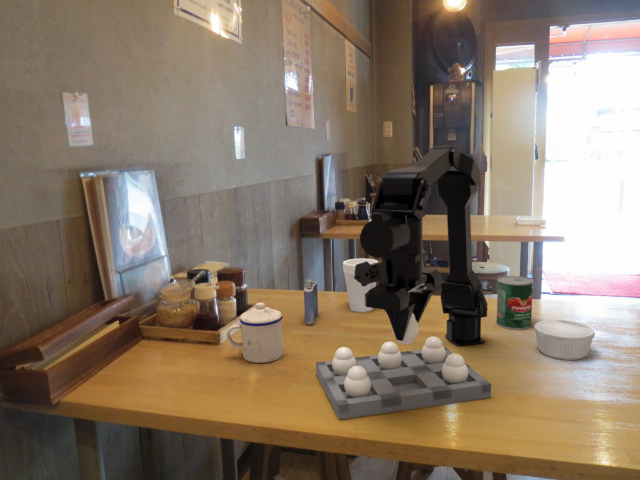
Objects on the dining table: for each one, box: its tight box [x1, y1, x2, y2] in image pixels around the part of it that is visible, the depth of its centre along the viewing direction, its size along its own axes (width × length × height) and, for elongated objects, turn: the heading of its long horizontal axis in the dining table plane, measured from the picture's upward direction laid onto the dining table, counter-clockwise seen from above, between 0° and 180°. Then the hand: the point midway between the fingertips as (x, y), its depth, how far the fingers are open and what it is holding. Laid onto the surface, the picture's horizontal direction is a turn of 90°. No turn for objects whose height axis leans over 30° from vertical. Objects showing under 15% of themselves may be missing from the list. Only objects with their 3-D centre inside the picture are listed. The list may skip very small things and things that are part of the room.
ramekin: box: [533, 319, 595, 361], centre depth 108 cm, size 11×11×5 cm
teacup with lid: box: [226, 302, 284, 364], centre depth 112 cm, size 12×9×12 cm
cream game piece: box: [391, 312, 420, 345], centre depth 90 cm, size 5×5×6 cm
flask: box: [303, 279, 319, 327], centre depth 134 cm, size 9×3×11 cm, turn 172°
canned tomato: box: [496, 275, 534, 331], centre depth 125 cm, size 8×8×11 cm
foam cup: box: [342, 257, 379, 313], centre depth 142 cm, size 10×9×13 cm
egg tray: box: [315, 335, 492, 421], centre depth 96 cm, size 18×27×7 cm, turn 102°
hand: (405, 335), depth 90 cm, fingers closed on cream game piece, 5 cm apart
